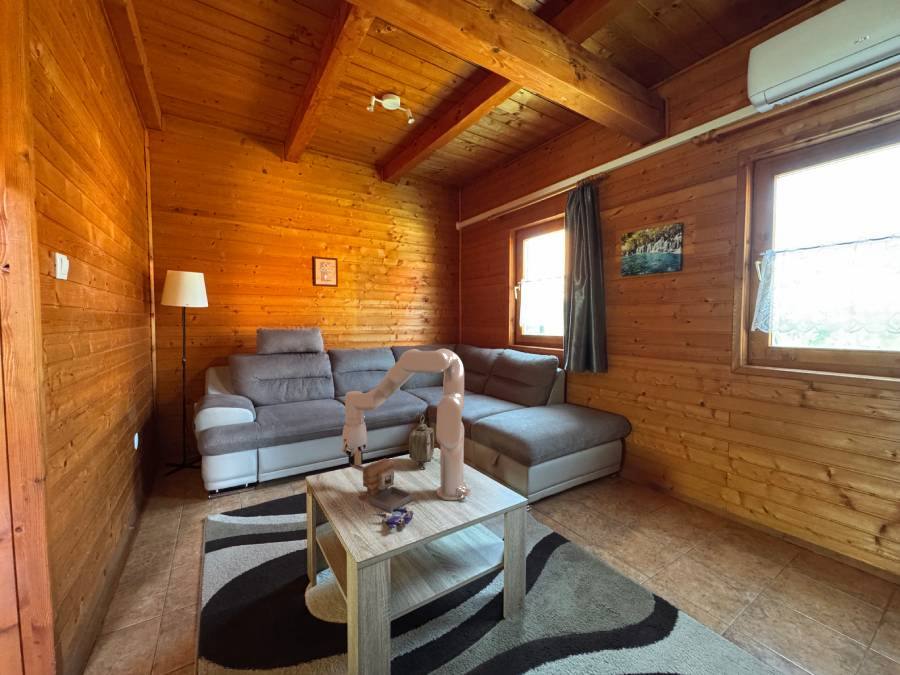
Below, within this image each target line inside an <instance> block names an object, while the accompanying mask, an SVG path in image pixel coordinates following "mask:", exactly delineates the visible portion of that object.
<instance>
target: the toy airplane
mask: <svg viewBox="0 0 900 675" xmlns="http://www.w3.org/2000/svg"><path fill="white" fill-rule="evenodd" d="M371 515H373V516H379V517H381V518H383V519H382V520H381V523H382V524H385V525H386V526H389V528H392V529H395V528H396V527H400V528H401V529H403V528H404V525H403V524H405V525H408V524H410V522H411V520H413V517H414V516H413V515H414V512H413V511H412V510H407V507H406V506H403V507H401V508H399V509H394V510H393V512H392V513H388V512H386V511H383V512H381V513H377V514H375V513H371ZM385 519H387V521H385Z"/></svg>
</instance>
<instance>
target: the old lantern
mask: <svg viewBox="0 0 900 675" xmlns="http://www.w3.org/2000/svg"><path fill="white" fill-rule="evenodd" d="M422 418H423V419H422ZM424 422H425V414H422V415H421V416H420V418H419V423H420V424H418V425H417V427H416V428H414V429H413V430H412V431H411V432H410V434H409V436H408V439H409V440H408V452H409V453H408V456H409V459H411V460H412V461H416V465H417V464H419V465H420V462H421V464H422V470H426V468H427V467H426V465H425V463H424V462H431V461H432V457H433V455H434V450H435V430H434V429H435V428H434V427H428V426H427V424H425V423H424Z"/></svg>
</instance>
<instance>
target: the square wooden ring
mask: <svg viewBox="0 0 900 675" xmlns="http://www.w3.org/2000/svg"><path fill="white" fill-rule="evenodd" d="M387 476H390V480H389V482H386V483H385V477H387ZM392 486H394V479H393V470H392V469H390V470H388V471H386V472H383V473H381V474H380V489H381V490H384V489H386V488H390V487H392Z"/></svg>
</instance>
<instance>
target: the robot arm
mask: <svg viewBox="0 0 900 675" xmlns="http://www.w3.org/2000/svg"><path fill="white" fill-rule="evenodd" d="M442 372H443V385H442V386H443V389H442V390H443V391H442V397H441V399H440V400H439V402H438V405H437V408H436V409H437V410H436V431H435V433H436V435H435V436H436V437H435V438H436V440H437V443H438V444H439V445H440V450H439V451H440V454H439V455H440V456H439V457H440V459H439V460H440V461H439V462H440V464H439V465H440V470H439V471H440V472H439V474H440V475H439V478H440V480H439V481H440V483H439V484H440V486H439V487H437V489H436V495H437V497H438V498H440V499H442V500H445V501H460V500H462V499H464V498H465V497H468V498H469V497H470V496H471V491H472V490H471V489H470V488H468V487H467V486H466V485H467V483H465V481H464V453H465V452H464V449H465V448H464V446H465V445H464V444H465V426H464V423H463V422H462V415H463V414H462V413H463V410H464V408H465V368H464V364H463V362H462V360H461V358H460V357H459V355H458V354H457V353H455V352H454V351H452V350H451V349H447V348H439V349H436V350H420V349H417V348H412V349H408V350H406V351H404V352H402V354H401V355H400V357H399V360H398V361H396V362H395V363H394V364H393V365H392V366H391V367H390V368H389V369H388V370H387V371H386V374H385V377H384V378H383V380H381V381H380V383H378V384H377V385H376V386H375V387H374V388H373V389H371V390H370V391H368V392H365V393H363V392H362V391H361V390H352V391H348V392H346V393H345V397H344V398H345V399H344V400H345V424H344V425H343V429H342V436H341V437H342V438H341V441H342V443H341V444H342V448H341V450H340V451H341V452H342V453H345V454H346V455H347V458H348V460H347V461H348V464H349V465H350V464H351V465H354V464H355V458H354V456H353V453H354V450H355V449H356V448H357V449H356V450H359V451H361V463H363V461H364V460H363V459H364V457H363V453H364V452H365V449H366V447H367V446H368V444H370V443H369V440H368V432H367V426H366V422H365V419H366V415H364V414H365V412H371V411H374V410H376V409H377V408H379V407H380V406H382V405H383V404H384V403H386V401H387V400H388V399H389V398H390V397H391V396H393V394H395V392H396V391H397V390H399V389H400V388H401V387H402V386H403V385H404V384H405V383H406V382H407V381H408V380H409V379H410V378H412V376H413V375H414V374H416V373H417V374H419V373H420V374H421V373H423V374H425V373H426V374H428V373H431V374H432V373H433V374H434V373H435V374H436V373H437V374H438V373H442ZM364 411H365V412H364Z"/></svg>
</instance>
